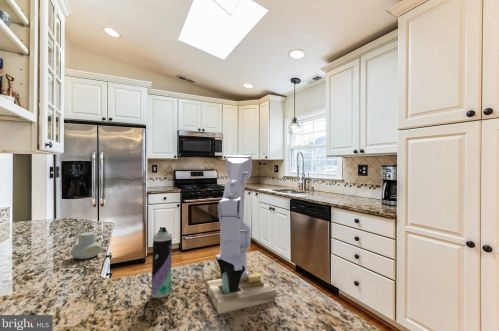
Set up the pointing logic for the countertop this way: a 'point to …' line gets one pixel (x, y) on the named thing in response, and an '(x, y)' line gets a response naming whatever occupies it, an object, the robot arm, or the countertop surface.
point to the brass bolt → (253, 278)
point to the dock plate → (240, 295)
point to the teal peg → (225, 284)
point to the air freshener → (86, 246)
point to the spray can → (161, 263)
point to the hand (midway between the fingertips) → (229, 285)
